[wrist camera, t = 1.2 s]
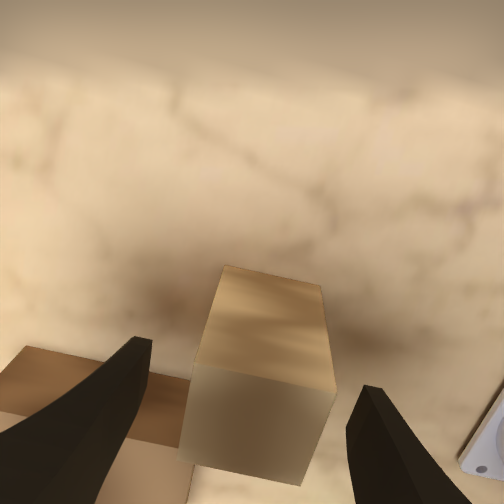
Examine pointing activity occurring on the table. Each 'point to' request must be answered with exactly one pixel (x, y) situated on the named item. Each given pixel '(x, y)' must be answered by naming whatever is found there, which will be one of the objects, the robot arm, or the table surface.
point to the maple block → (260, 379)
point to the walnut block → (137, 440)
